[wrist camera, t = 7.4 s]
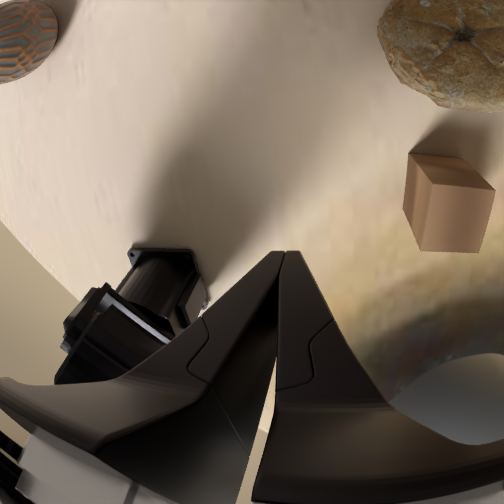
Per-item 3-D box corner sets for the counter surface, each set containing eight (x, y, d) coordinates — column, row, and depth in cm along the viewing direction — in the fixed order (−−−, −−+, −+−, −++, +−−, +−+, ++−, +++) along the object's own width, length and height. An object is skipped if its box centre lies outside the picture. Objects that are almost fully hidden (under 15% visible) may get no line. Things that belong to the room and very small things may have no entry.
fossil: (566, 32, 5) (490, 146, 9) (553, 74, 8) (479, 178, 12) (433, -43, 9) (340, 41, 13) (444, 2, 12) (364, 83, 16)
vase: (33, 87, 18) (-47, 120, 12) (13, 32, 15) (-65, 52, 8) (81, 41, 16) (-13, 59, 9) (58, -18, 13) (-30, -14, 6)
